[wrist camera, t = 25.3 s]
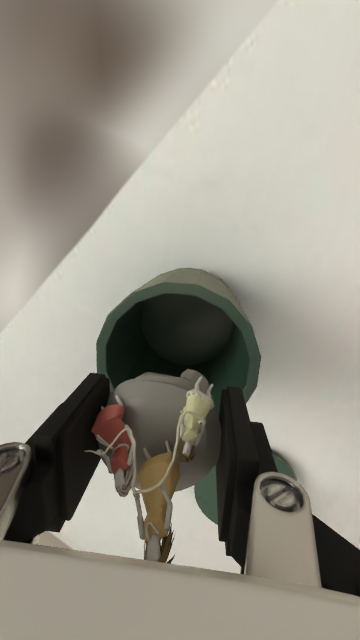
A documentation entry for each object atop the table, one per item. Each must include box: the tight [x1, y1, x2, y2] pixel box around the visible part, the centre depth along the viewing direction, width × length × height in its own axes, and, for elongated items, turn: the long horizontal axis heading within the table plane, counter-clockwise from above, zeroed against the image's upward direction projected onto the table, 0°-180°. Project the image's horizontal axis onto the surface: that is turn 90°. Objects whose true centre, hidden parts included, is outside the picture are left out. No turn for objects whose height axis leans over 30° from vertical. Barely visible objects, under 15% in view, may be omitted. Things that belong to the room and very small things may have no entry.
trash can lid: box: [194, 453, 296, 525], centre depth 26 cm, size 10×10×7 cm
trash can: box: [96, 268, 261, 418], centre depth 20 cm, size 9×9×10 cm
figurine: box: [85, 369, 222, 564], centre depth 9 cm, size 5×4×6 cm
